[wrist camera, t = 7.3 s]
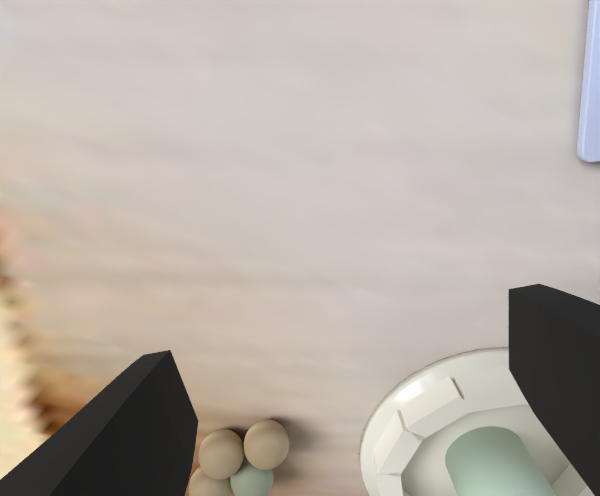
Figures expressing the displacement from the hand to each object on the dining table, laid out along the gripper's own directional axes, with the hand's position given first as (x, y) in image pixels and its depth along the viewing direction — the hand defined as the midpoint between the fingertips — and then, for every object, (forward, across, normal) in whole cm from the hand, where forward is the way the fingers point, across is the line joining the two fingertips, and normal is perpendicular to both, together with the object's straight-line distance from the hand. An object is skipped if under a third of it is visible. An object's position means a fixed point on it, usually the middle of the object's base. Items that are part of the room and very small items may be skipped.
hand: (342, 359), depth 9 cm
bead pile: (+10, +6, +12) cm, 17 cm away
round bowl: (+10, -7, +16) cm, 20 cm away
